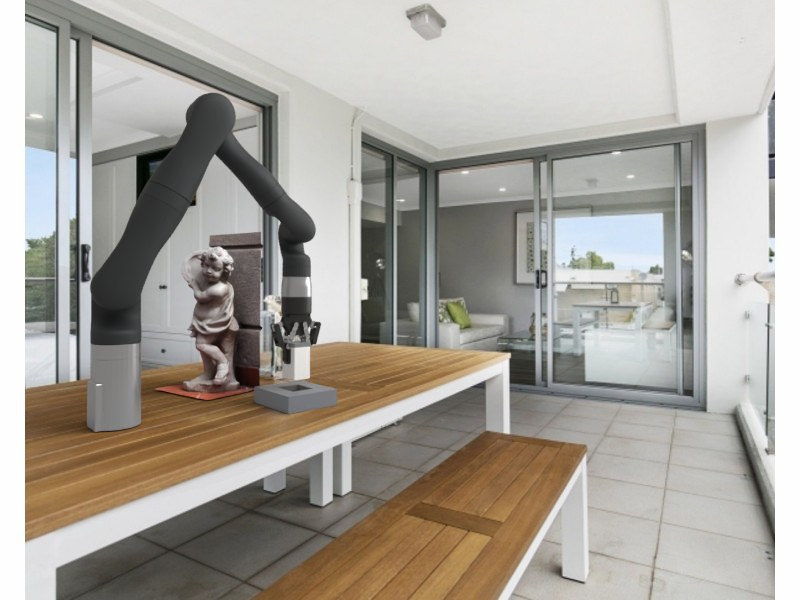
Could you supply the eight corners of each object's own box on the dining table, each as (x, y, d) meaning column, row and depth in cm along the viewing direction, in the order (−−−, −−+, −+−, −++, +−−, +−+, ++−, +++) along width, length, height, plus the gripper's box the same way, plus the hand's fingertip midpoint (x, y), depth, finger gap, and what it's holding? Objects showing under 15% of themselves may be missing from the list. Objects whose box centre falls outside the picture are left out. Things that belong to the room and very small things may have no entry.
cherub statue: (154, 390, 140) (155, 229, 139) (210, 381, 156) (211, 235, 155) (207, 401, 128) (208, 224, 127) (262, 389, 144) (264, 232, 143)
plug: (294, 380, 123) (294, 343, 123) (282, 377, 127) (282, 341, 127) (309, 378, 127) (310, 342, 126) (297, 375, 131) (297, 340, 130)
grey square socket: (288, 414, 117) (288, 396, 117) (254, 402, 128) (254, 386, 128) (336, 405, 126) (337, 389, 126) (300, 394, 138) (301, 380, 138)
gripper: (279, 295, 119) (279, 367, 119) (328, 295, 129) (328, 361, 129) (263, 295, 124) (263, 364, 125) (311, 294, 134) (311, 358, 135)
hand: (296, 362), depth 127 cm, fingers closed on plug, 4 cm apart
